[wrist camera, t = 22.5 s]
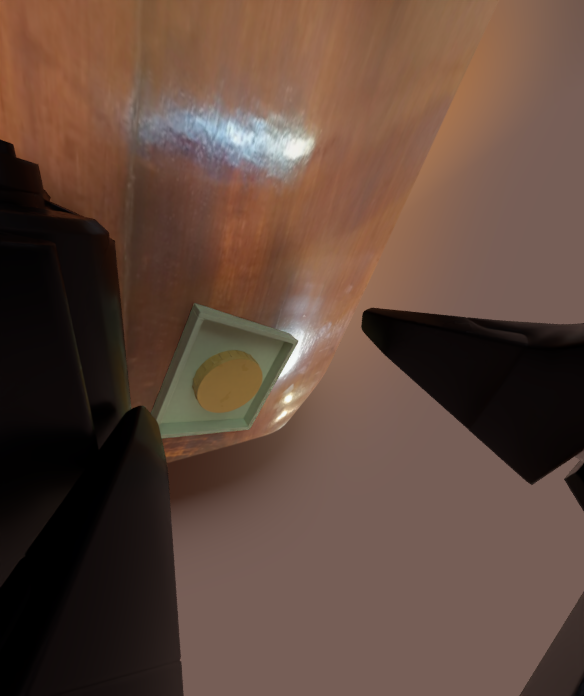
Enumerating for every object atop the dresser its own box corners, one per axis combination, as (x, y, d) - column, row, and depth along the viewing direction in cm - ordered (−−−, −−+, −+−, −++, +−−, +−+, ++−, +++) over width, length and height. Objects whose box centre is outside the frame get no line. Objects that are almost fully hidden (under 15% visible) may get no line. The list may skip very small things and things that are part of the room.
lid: (234, 336, 21) (240, 345, 19) (266, 372, 25) (273, 380, 24) (175, 384, 20) (179, 395, 18) (220, 411, 25) (225, 421, 23)
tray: (243, 418, 28) (249, 429, 27) (146, 424, 20) (147, 440, 19) (289, 333, 25) (298, 341, 24) (194, 302, 17) (200, 311, 16)
